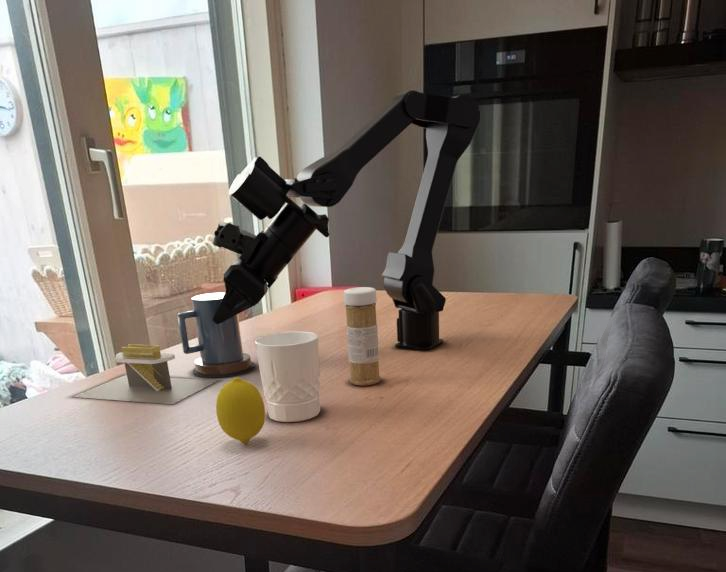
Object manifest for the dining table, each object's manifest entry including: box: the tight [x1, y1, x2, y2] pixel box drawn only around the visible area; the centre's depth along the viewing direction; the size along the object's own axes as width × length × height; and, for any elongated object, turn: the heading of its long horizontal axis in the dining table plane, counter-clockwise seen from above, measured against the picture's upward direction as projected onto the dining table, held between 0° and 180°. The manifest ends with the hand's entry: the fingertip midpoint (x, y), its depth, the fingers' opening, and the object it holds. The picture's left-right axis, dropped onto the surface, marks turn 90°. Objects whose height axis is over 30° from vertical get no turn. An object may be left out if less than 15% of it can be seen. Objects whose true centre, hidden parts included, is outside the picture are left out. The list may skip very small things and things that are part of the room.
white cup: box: [254, 330, 321, 423], centre depth 89 cm, size 8×8×10 cm
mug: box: [177, 292, 252, 375], centre depth 112 cm, size 11×9×12 cm
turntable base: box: [192, 361, 256, 379], centre depth 115 cm, size 10×10×1 cm
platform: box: [73, 343, 218, 405], centre depth 105 cm, size 12×18×7 cm, turn 68°
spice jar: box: [343, 286, 381, 386], centre depth 100 cm, size 5×5×13 cm
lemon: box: [215, 376, 266, 444], centre depth 81 cm, size 6×6×8 cm
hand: (220, 316), depth 111 cm, fingers open, 9 cm apart
